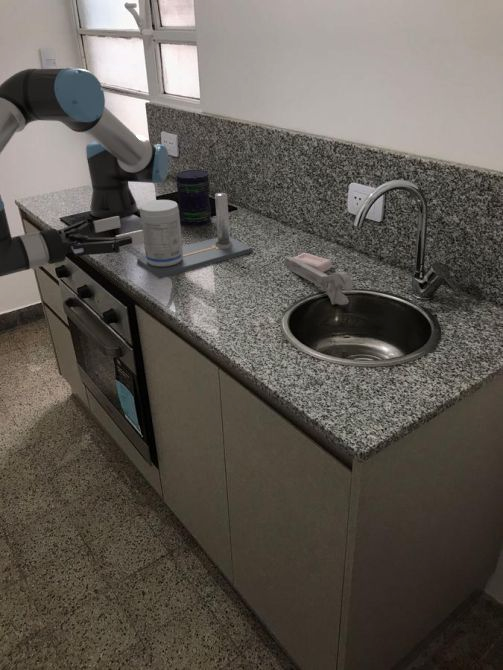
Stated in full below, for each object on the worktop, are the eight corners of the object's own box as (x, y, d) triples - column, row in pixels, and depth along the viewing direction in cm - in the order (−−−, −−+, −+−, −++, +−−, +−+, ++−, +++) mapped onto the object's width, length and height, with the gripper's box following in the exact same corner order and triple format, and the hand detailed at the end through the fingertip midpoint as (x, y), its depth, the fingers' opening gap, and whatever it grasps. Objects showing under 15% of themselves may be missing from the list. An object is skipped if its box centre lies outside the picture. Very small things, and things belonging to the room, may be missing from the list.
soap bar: (319, 275, 137) (319, 266, 135) (290, 266, 142) (290, 257, 141) (332, 268, 140) (332, 259, 139) (303, 260, 146) (303, 251, 144)
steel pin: (212, 244, 153) (208, 194, 146) (226, 241, 155) (223, 191, 148) (221, 249, 150) (218, 198, 143) (235, 245, 152) (233, 194, 145)
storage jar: (176, 219, 177) (171, 172, 169) (205, 215, 180) (202, 168, 172) (185, 228, 168) (181, 179, 161) (215, 224, 172) (213, 175, 164)
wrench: (291, 276, 143) (353, 312, 117) (284, 277, 143) (346, 314, 117) (289, 246, 140) (353, 276, 114) (283, 247, 139) (346, 277, 114)
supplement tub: (150, 254, 148) (143, 199, 140) (185, 253, 147) (180, 198, 140) (143, 268, 139) (135, 211, 132) (181, 267, 139) (175, 210, 132)
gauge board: (137, 262, 146) (136, 257, 146) (226, 239, 160) (226, 234, 159) (159, 278, 137) (159, 273, 136) (252, 251, 151) (252, 247, 150)
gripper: (30, 248, 135) (112, 230, 145) (65, 281, 117) (155, 257, 127) (23, 218, 131) (108, 201, 141) (57, 248, 113) (151, 226, 124)
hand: (130, 228), depth 134 cm, fingers open, 13 cm apart
